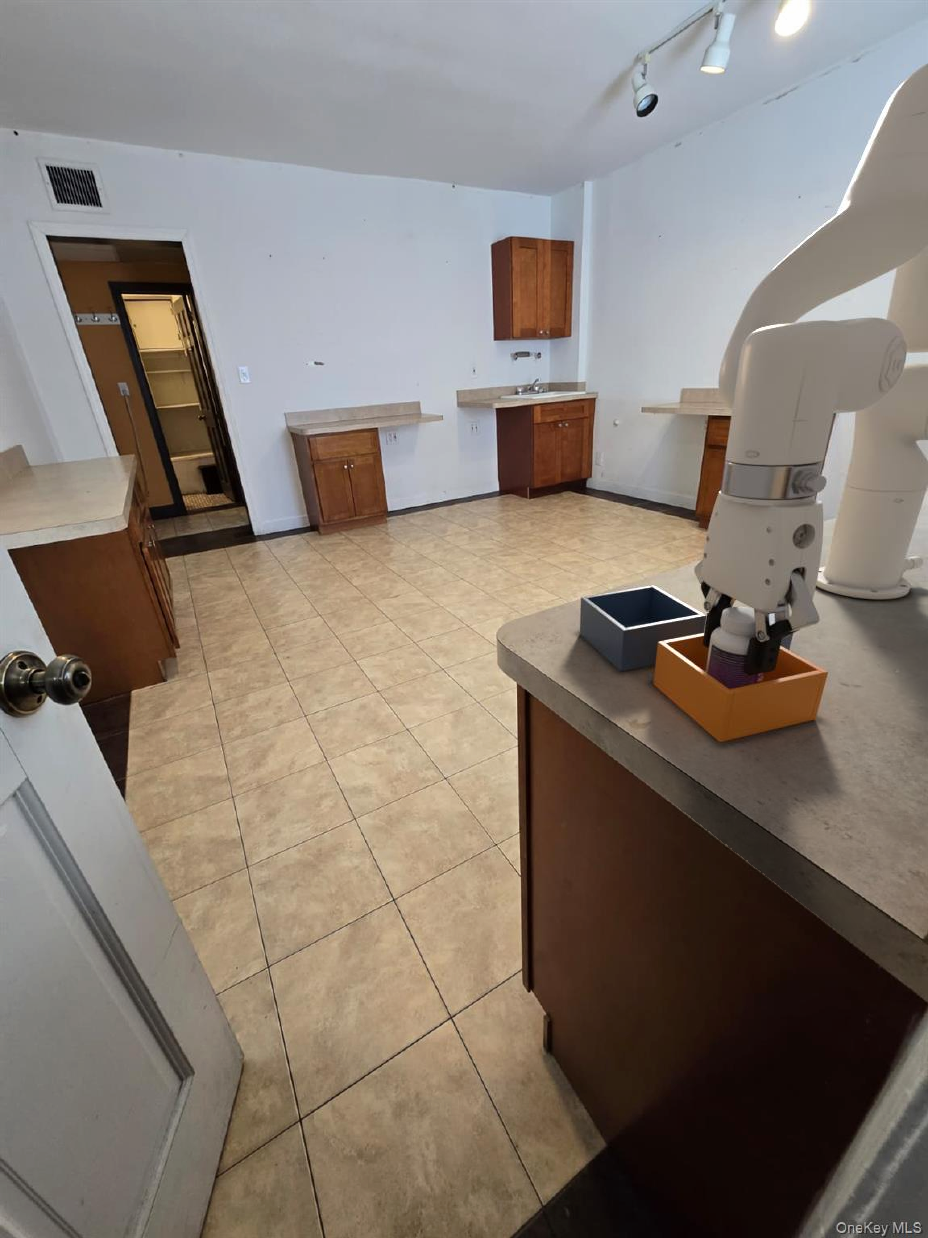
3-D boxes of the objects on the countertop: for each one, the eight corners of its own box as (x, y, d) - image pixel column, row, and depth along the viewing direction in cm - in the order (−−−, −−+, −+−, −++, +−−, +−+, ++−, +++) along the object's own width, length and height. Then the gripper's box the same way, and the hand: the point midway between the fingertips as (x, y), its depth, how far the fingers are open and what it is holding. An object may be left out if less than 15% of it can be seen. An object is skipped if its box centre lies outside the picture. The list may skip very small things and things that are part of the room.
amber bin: (736, 667, 62) (743, 625, 59) (815, 719, 52) (828, 671, 49) (653, 684, 59) (657, 641, 57) (719, 742, 49) (728, 693, 47)
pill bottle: (765, 711, 52) (783, 626, 48) (708, 708, 54) (721, 625, 49) (749, 683, 57) (765, 603, 53) (697, 681, 58) (709, 602, 54)
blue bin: (650, 620, 75) (653, 585, 72) (700, 655, 65) (706, 615, 62) (579, 633, 72) (580, 597, 70) (620, 671, 62) (623, 630, 60)
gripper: (897, 492, 39) (840, 693, 47) (735, 464, 54) (712, 619, 62) (815, 504, 37) (770, 709, 45) (673, 472, 53) (657, 630, 60)
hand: (737, 656), depth 53 cm, fingers closed on pill bottle, 5 cm apart
